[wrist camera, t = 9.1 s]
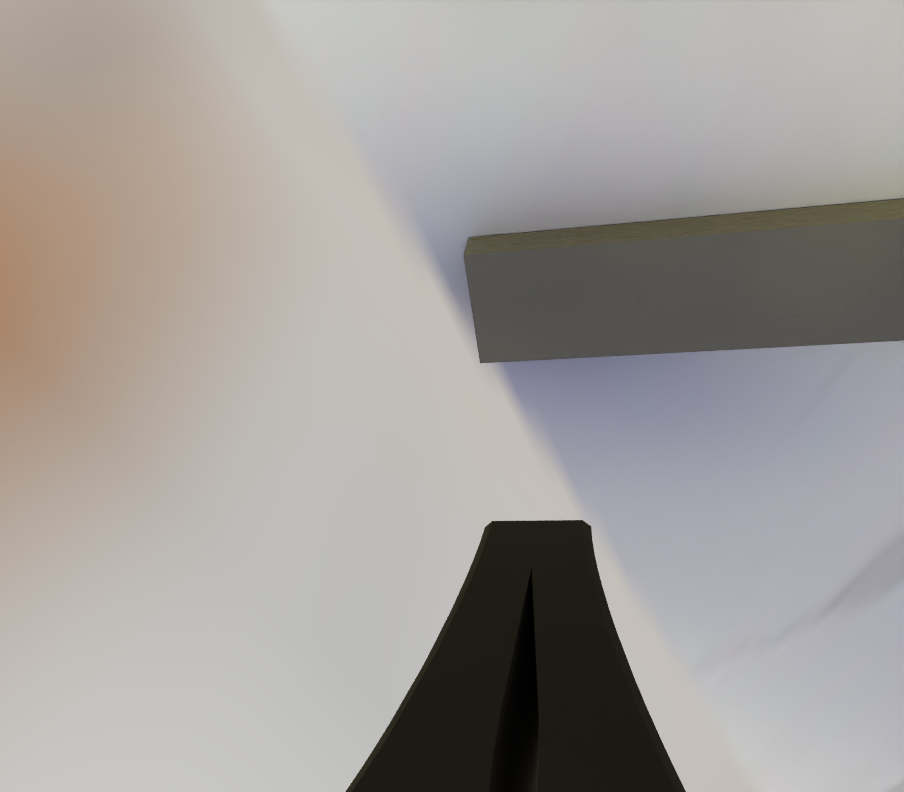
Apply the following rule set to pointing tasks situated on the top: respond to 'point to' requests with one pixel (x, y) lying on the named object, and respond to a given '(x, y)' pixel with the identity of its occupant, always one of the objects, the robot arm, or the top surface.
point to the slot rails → (691, 284)
